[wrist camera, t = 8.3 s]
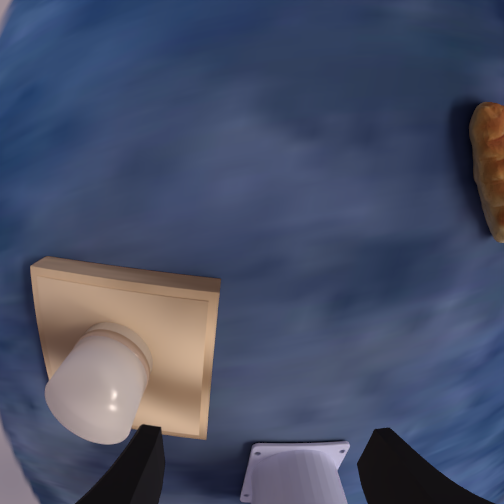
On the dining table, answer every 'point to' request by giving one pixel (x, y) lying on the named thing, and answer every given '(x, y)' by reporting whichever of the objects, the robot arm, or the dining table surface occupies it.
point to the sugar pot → (101, 383)
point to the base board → (137, 330)
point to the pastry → (489, 163)
